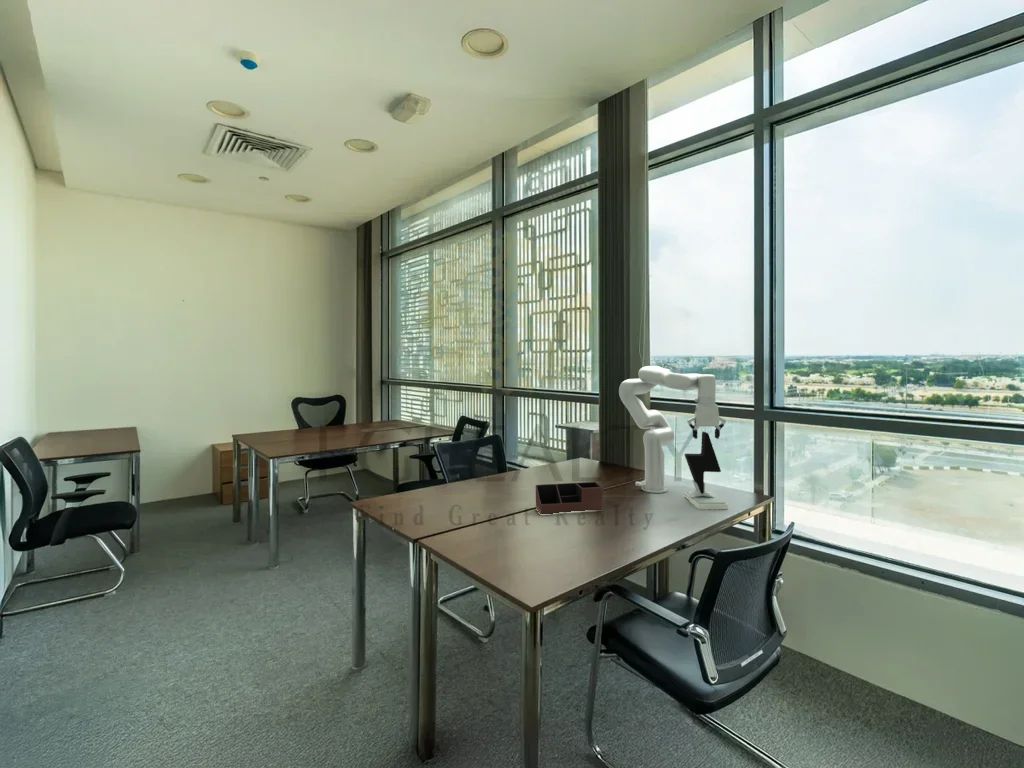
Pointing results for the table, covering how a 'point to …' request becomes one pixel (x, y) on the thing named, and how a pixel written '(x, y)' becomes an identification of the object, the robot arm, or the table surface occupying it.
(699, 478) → the award
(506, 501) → the table surface
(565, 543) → the table surface
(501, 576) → the table surface
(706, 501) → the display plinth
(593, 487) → the desk organizer
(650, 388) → the robot arm
